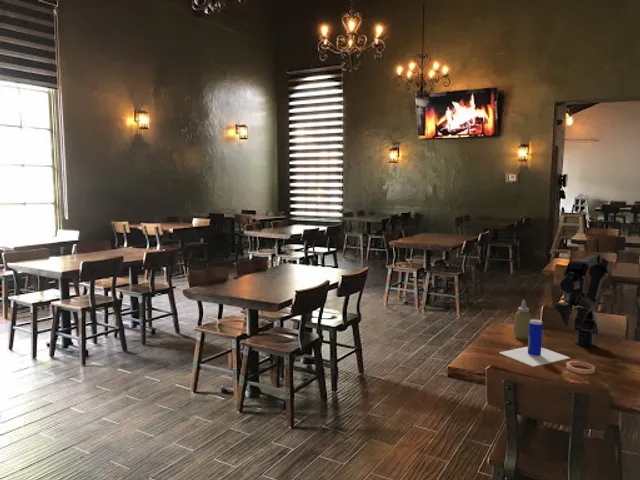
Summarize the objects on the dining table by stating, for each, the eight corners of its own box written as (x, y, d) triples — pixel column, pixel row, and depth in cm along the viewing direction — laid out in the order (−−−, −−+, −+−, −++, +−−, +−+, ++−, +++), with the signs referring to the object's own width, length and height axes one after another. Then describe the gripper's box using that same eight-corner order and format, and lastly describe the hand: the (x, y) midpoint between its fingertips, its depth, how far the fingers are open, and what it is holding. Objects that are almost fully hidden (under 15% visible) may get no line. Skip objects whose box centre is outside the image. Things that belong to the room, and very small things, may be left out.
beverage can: (528, 352, 228) (530, 318, 226) (541, 354, 226) (543, 319, 224) (526, 355, 224) (528, 321, 222) (539, 357, 221) (542, 322, 219)
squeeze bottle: (530, 336, 252) (532, 299, 249) (531, 341, 244) (533, 303, 242) (512, 334, 254) (514, 297, 252) (512, 339, 247) (514, 301, 244)
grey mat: (535, 345, 238) (535, 345, 238) (570, 358, 222) (570, 357, 222) (499, 353, 228) (499, 352, 227) (533, 367, 212) (533, 366, 212)
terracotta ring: (577, 363, 216) (577, 359, 216) (600, 371, 208) (600, 367, 207) (560, 367, 212) (561, 363, 212) (583, 375, 203) (583, 371, 203)
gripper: (577, 294, 215) (574, 332, 217) (608, 291, 223) (605, 327, 225) (555, 289, 225) (552, 325, 227) (585, 286, 233) (582, 321, 235)
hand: (573, 325), depth 228 cm, fingers open, 9 cm apart
